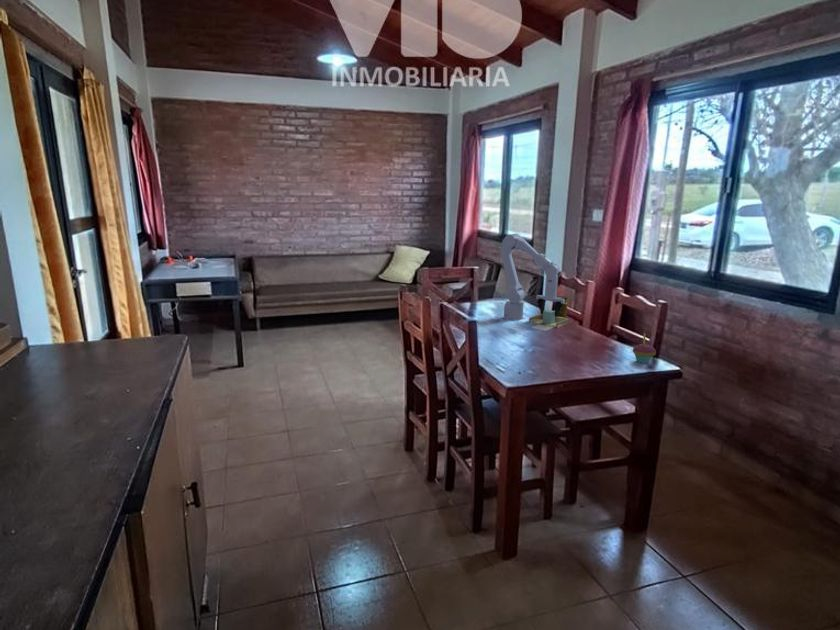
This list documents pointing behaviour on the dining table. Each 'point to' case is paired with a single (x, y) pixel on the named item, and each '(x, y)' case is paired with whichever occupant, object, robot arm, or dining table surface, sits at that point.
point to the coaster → (542, 327)
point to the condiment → (563, 308)
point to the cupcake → (644, 352)
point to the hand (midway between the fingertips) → (549, 315)
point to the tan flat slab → (558, 323)
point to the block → (548, 317)
